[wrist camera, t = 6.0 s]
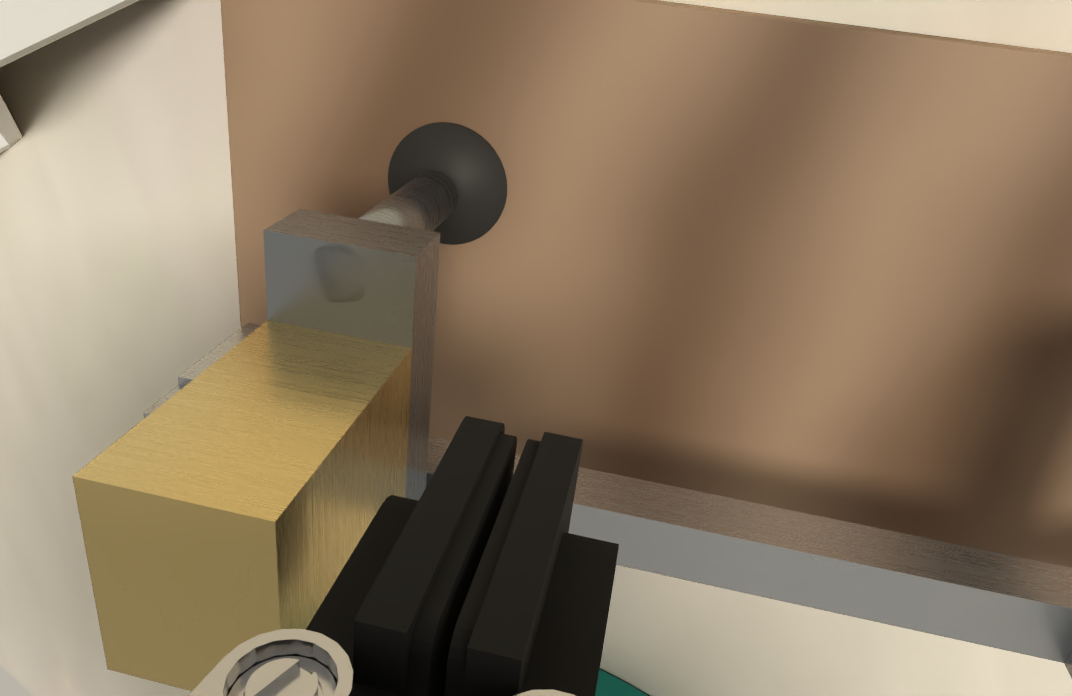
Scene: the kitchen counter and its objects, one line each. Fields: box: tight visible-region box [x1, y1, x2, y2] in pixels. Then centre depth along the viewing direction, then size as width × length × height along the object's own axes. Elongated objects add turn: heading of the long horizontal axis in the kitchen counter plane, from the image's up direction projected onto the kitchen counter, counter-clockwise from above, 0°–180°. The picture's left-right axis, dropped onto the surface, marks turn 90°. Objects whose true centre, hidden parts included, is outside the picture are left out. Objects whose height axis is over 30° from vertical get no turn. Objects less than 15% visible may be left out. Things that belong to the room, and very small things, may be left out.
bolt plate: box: [144, 0, 1072, 678], centre depth 16 cm, size 22×12×7 cm, turn 84°
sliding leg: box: [73, 171, 458, 691], centre depth 13 cm, size 2×6×9 cm, turn 174°
